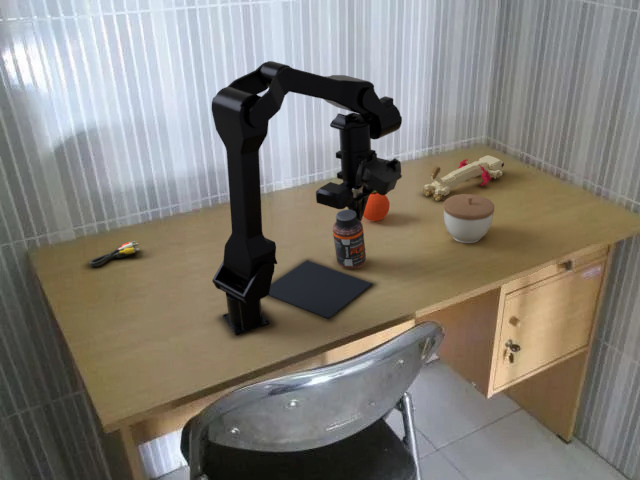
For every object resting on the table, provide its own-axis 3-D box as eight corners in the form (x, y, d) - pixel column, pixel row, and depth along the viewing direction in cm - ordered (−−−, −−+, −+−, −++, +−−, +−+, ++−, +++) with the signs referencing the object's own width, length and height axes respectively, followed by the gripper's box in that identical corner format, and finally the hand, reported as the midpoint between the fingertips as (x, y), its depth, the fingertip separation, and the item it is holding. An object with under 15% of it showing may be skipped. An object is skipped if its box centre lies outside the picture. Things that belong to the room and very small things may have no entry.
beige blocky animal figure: (445, 209, 162) (514, 175, 175) (445, 176, 157) (516, 143, 170) (417, 196, 168) (485, 163, 181) (416, 163, 163) (486, 132, 176)
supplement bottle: (355, 274, 134) (349, 226, 127) (331, 265, 137) (323, 218, 129) (372, 257, 138) (367, 210, 131) (348, 249, 140) (342, 203, 133)
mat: (307, 261, 138) (307, 260, 138) (372, 284, 131) (372, 283, 131) (260, 292, 128) (260, 291, 128) (328, 319, 121) (328, 317, 121)
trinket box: (433, 241, 146) (435, 201, 141) (454, 221, 154) (456, 183, 149) (480, 253, 142) (483, 212, 137) (498, 232, 150) (502, 193, 145)
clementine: (350, 216, 155) (349, 187, 151) (375, 208, 159) (374, 180, 155) (370, 229, 150) (370, 200, 146) (395, 221, 154) (396, 192, 150)
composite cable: (92, 269, 134) (89, 258, 132) (86, 258, 137) (83, 247, 136) (142, 256, 138) (140, 245, 137) (136, 246, 142) (133, 235, 140)
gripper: (362, 173, 116) (365, 252, 125) (418, 139, 129) (417, 212, 138) (311, 160, 121) (317, 236, 130) (369, 128, 134) (371, 199, 143)
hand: (358, 221), depth 135 cm, fingers closed
